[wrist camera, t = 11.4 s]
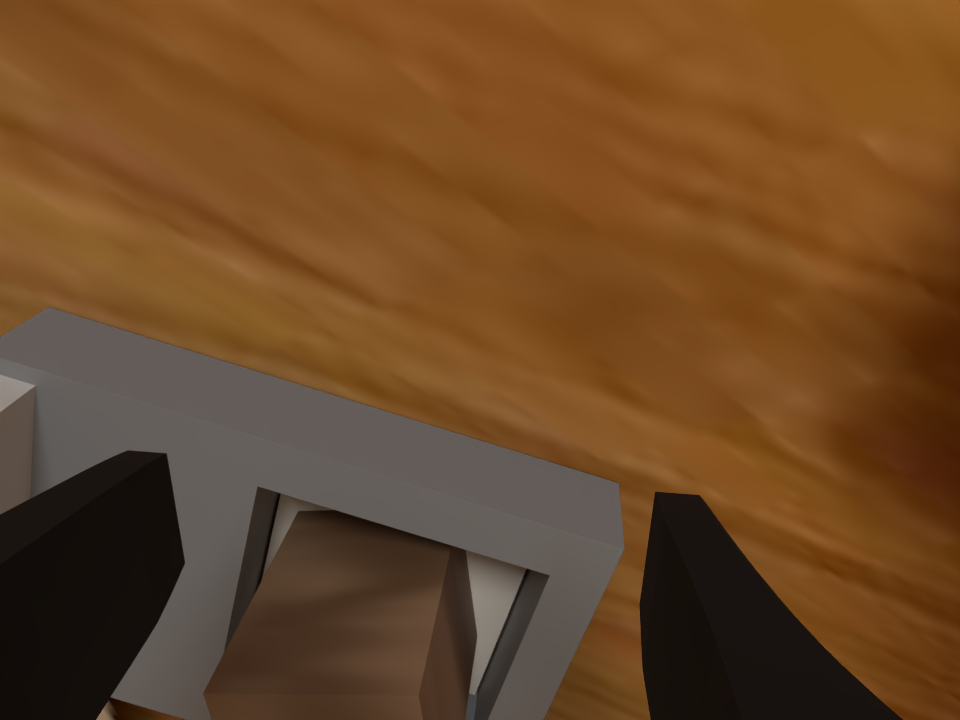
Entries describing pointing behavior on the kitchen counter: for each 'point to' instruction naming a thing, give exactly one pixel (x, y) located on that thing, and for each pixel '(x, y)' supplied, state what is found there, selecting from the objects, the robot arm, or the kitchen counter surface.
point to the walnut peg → (352, 629)
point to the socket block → (304, 500)
